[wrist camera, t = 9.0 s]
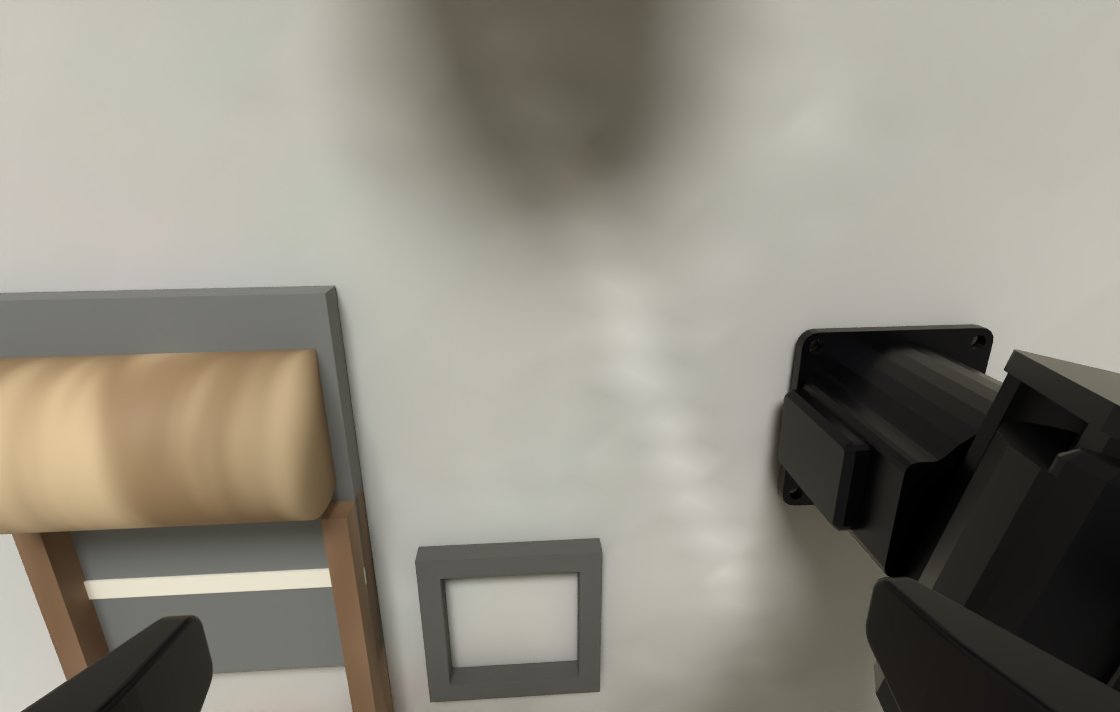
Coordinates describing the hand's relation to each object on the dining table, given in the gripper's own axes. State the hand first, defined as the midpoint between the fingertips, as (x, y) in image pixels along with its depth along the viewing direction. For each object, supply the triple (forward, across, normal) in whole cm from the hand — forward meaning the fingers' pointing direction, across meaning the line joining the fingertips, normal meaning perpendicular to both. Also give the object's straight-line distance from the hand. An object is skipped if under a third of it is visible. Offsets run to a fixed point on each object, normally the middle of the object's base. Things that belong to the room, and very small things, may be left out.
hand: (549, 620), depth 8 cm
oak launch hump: (+12, +11, +2) cm, 16 cm away
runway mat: (+12, +11, +5) cm, 17 cm away
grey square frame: (+12, +1, +11) cm, 16 cm away
